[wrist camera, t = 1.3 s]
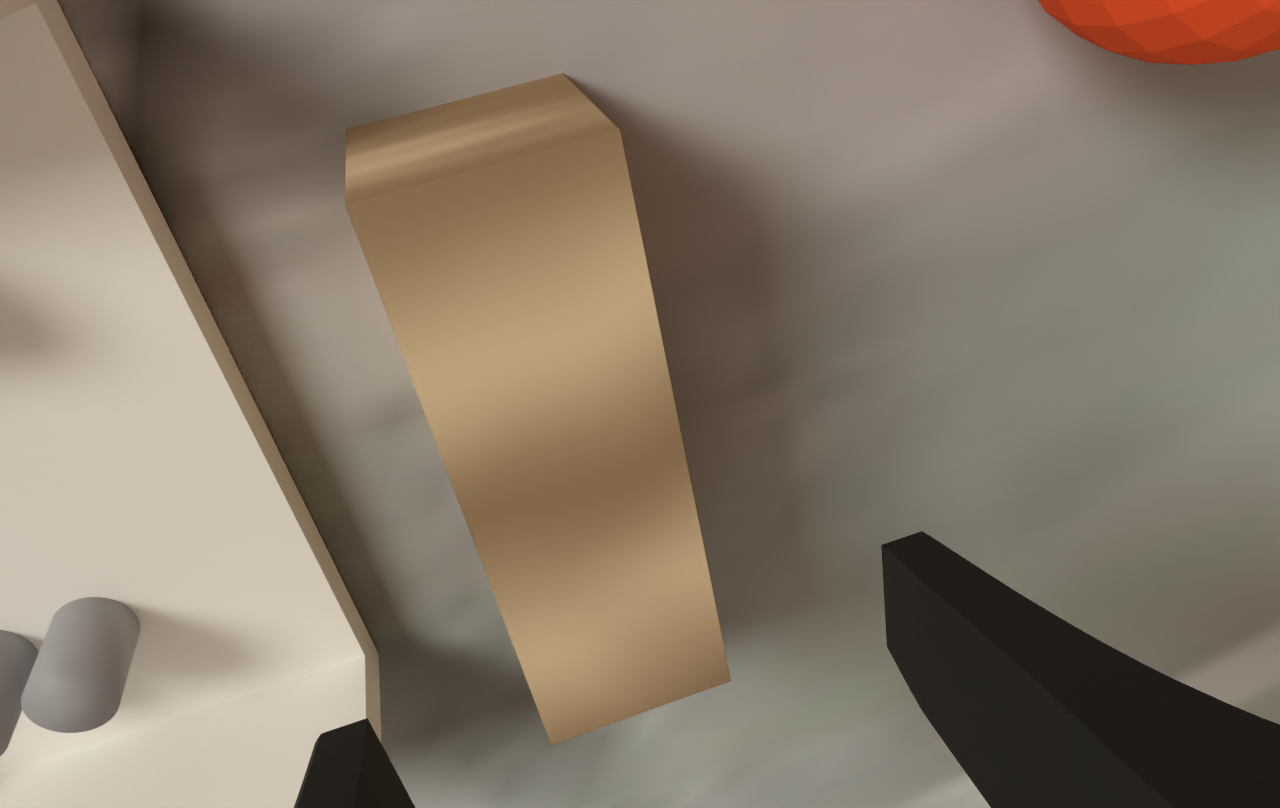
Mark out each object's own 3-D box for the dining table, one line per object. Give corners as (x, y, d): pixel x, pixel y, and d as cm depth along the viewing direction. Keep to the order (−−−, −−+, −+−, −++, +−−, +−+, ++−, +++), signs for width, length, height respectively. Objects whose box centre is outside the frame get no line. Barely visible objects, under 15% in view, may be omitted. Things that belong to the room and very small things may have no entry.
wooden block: (669, 550, 24) (730, 680, 20) (518, 600, 23) (551, 745, 19) (560, 71, 17) (620, 130, 13) (346, 126, 17) (345, 205, 13)
